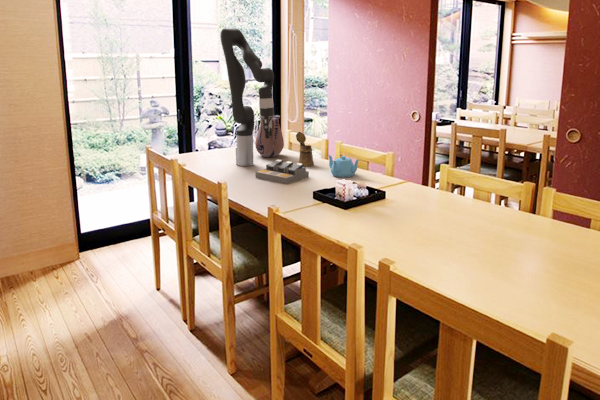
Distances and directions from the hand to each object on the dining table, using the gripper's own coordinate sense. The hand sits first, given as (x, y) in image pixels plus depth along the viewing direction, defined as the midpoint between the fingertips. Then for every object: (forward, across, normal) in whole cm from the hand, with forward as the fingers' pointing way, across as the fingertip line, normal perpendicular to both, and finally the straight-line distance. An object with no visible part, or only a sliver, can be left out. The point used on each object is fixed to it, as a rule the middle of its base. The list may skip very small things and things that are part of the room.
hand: (268, 137), depth 278 cm
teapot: (+21, +8, +39) cm, 45 cm away
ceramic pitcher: (+18, -36, -5) cm, 41 cm away
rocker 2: (+14, +13, +10) cm, 21 cm away
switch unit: (+19, +15, +8) cm, 26 cm away
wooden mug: (+19, -17, +17) cm, 31 cm away
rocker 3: (+14, +17, +16) cm, 27 cm away
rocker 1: (+13, +9, +4) cm, 17 cm away
